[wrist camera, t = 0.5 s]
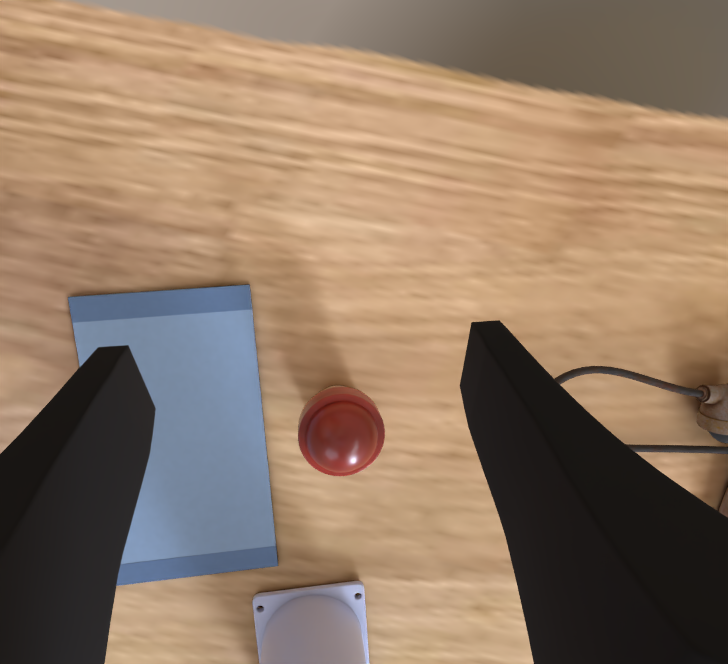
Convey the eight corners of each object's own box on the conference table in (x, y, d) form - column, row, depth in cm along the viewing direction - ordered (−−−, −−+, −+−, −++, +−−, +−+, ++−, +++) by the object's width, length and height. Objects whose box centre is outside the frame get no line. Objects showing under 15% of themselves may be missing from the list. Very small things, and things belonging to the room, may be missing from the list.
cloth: (277, 563, 37) (277, 566, 37) (118, 582, 36) (116, 585, 36) (249, 284, 33) (249, 284, 33) (69, 296, 32) (67, 297, 32)
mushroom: (376, 442, 36) (392, 487, 30) (302, 449, 36) (301, 497, 29) (372, 370, 35) (387, 400, 29) (295, 377, 35) (293, 409, 28)
